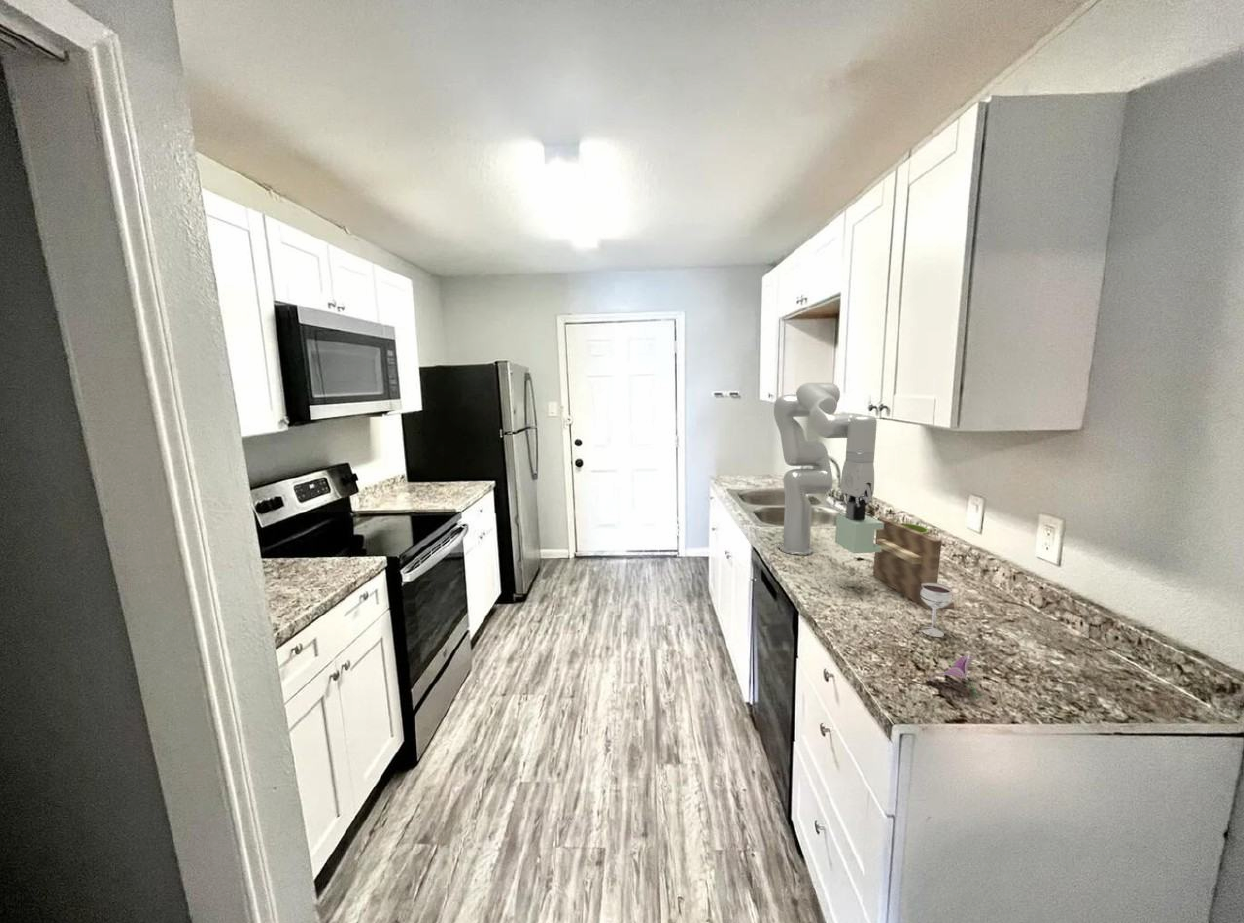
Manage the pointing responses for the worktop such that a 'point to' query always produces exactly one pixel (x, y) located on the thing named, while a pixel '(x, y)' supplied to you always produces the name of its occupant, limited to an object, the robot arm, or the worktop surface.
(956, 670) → the lily
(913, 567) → the wall board
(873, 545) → the mint green box
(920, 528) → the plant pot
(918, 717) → the worktop surface
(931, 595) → the wineglass
